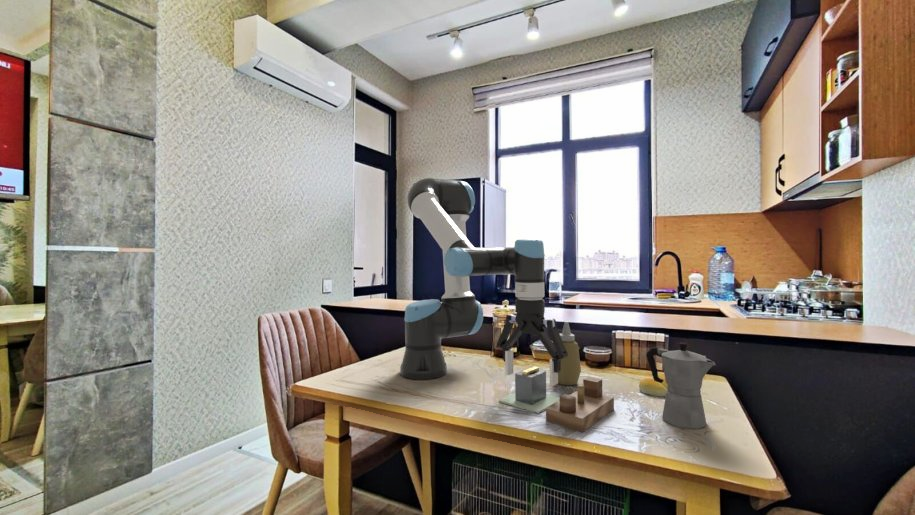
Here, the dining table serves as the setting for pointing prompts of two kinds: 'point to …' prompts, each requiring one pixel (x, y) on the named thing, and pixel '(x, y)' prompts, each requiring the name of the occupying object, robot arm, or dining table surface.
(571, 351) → the squeeze bottle
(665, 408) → the coffeepot
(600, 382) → the wooden peg board
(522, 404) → the mat
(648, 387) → the bread roll
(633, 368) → the dining table surface
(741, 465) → the dining table surface
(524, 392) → the lever cap
